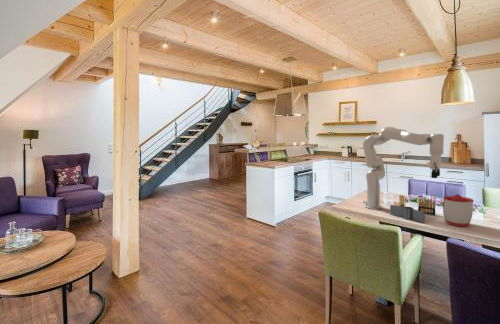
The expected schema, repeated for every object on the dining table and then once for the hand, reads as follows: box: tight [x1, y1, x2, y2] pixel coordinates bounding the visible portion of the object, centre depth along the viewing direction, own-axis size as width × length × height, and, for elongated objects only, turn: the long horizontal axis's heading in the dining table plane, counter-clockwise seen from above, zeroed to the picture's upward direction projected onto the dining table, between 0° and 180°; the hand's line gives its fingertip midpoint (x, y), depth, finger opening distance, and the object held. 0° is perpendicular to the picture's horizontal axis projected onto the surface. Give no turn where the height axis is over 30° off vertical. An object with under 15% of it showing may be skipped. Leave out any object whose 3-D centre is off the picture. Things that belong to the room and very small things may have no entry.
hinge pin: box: [398, 195, 405, 207], centre depth 193 cm, size 3×3×14 cm
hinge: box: [389, 204, 425, 224], centre depth 183 cm, size 23×8×8 cm, turn 37°
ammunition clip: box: [417, 197, 436, 216], centre depth 191 cm, size 11×2×12 cm, turn 46°
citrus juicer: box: [439, 193, 474, 227], centre depth 168 cm, size 16×17×20 cm
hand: (435, 176), depth 176 cm, fingers open, 9 cm apart
